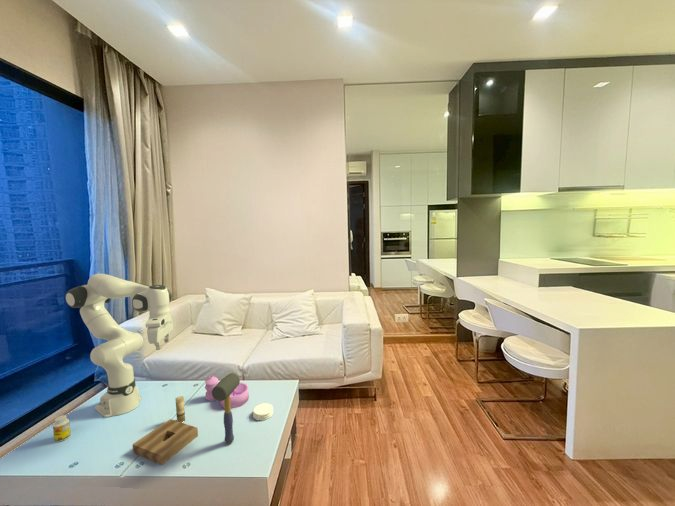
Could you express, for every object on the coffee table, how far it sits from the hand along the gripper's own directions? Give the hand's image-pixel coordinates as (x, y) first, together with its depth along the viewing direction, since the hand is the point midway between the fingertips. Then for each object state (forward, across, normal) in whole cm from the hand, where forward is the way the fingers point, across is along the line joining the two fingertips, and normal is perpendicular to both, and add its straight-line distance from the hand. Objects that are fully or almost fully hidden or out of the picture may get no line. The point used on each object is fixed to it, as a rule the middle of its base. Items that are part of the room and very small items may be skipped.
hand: (162, 345), depth 144 cm
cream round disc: (+41, +4, +46) cm, 62 cm away
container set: (+40, -14, +25) cm, 49 cm away
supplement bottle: (+39, +3, -45) cm, 60 cm away
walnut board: (+40, +17, +5) cm, 43 cm away
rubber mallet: (+40, +21, +33) cm, 56 cm away
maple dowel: (+40, +1, +6) cm, 40 cm away
